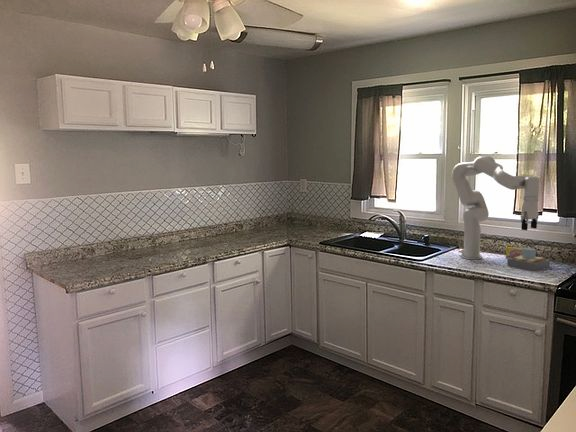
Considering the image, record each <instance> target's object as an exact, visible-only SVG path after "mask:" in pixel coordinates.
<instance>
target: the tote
mask: <svg viewBox="0 0 576 432" xmlns="http://www.w3.org/2000/svg"><path fill="white" fill-rule="evenodd" d="M550 266H551V259H547V258H545V261H541V262H538V263H529V262H524V261H518V260H513V258H510V259H507V267H511V268H516V269H522V270H527V271H531V272H537V271H540V270H544V269H547V268H550Z"/></svg>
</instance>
